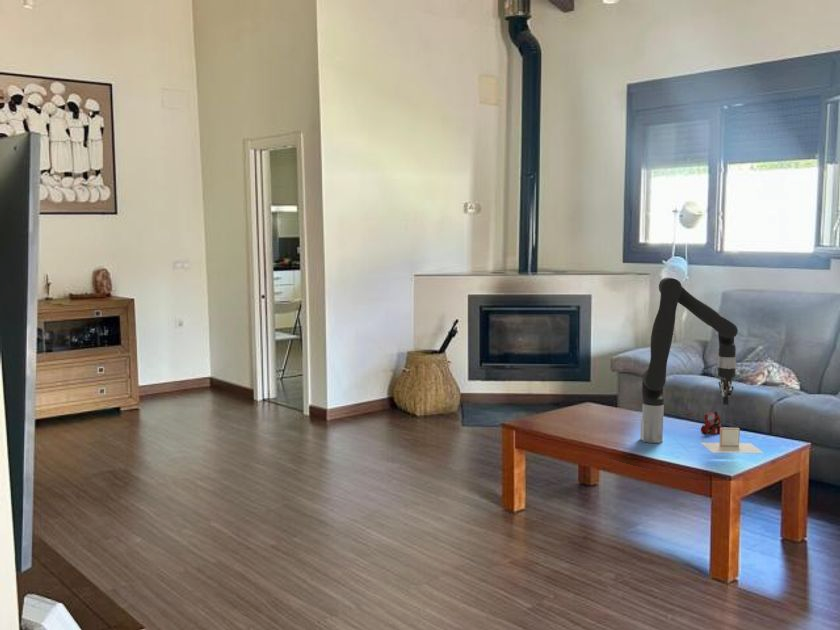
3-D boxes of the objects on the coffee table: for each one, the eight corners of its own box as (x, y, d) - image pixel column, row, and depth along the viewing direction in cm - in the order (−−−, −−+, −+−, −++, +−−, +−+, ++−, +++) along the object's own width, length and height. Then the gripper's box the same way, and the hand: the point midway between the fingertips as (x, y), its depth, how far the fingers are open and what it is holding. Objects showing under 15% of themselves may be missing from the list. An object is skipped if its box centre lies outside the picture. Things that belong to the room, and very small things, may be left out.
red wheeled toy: (726, 433, 374) (727, 411, 373) (711, 437, 366) (712, 415, 365) (712, 430, 379) (713, 409, 378) (698, 434, 371) (699, 412, 370)
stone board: (712, 454, 337) (712, 452, 337) (700, 444, 353) (700, 442, 353) (764, 455, 336) (764, 453, 336) (749, 445, 352) (750, 443, 352)
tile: (720, 446, 347) (721, 428, 346) (719, 445, 349) (720, 427, 348) (739, 446, 347) (739, 428, 346) (737, 445, 348) (738, 427, 348)
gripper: (713, 363, 358) (711, 401, 360) (723, 368, 345) (721, 407, 346) (729, 363, 358) (728, 401, 359) (740, 368, 344) (739, 407, 346)
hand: (725, 404), depth 353 cm, fingers closed
